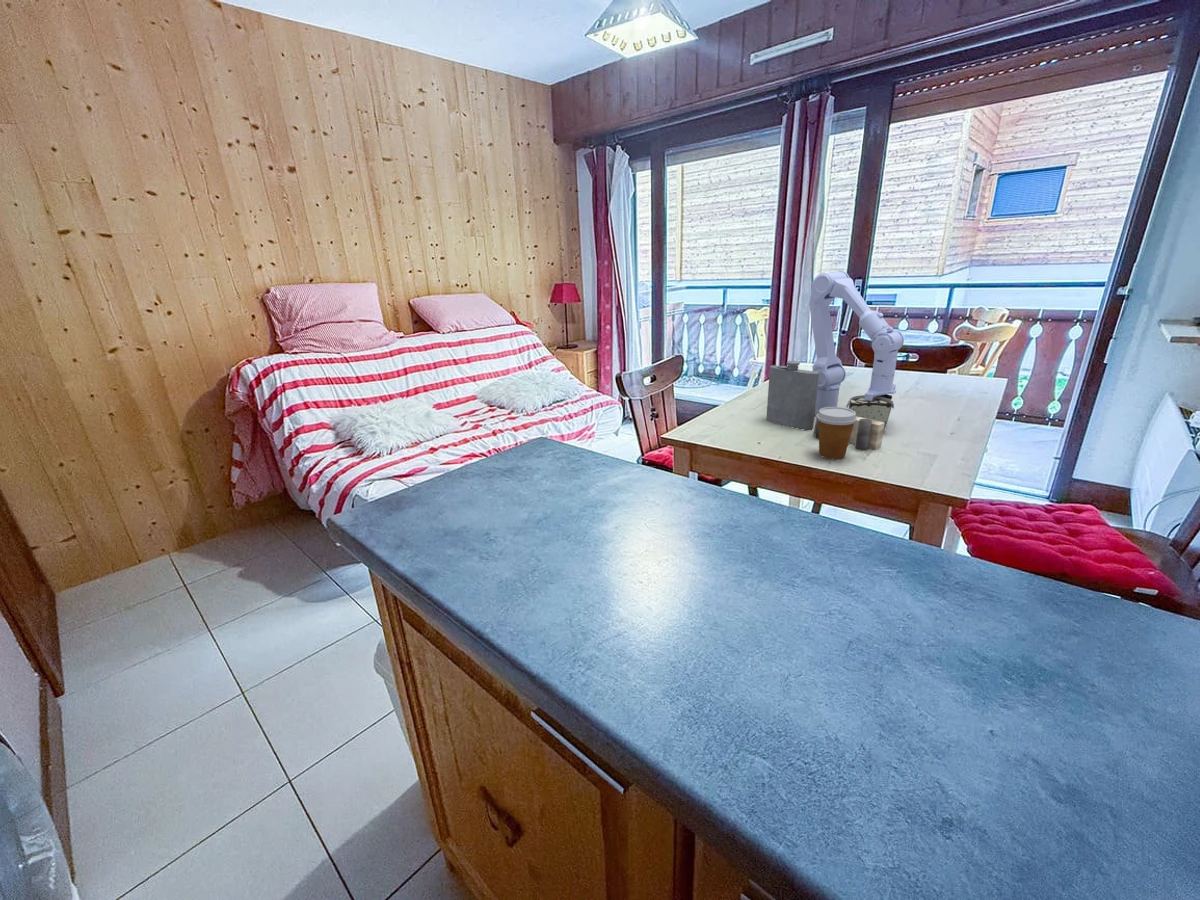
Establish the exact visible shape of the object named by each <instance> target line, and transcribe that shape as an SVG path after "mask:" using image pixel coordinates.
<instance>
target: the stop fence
mask: <svg viewBox="0 0 1200 900" xmlns="http://www.w3.org/2000/svg"><path fill="white" fill-rule="evenodd" d="M818 413H819V410H818V411H816V415H815V418H814V427H813V434H814V433H815V434H814V438H815V439H817V438H818V439H817V440H819V430H818V429H819V428H818V418H817V414H818ZM856 417H857V416H856ZM884 425H885V422H880V421H875V420H871V419H866V418H862V417H857V420H856V421H855V423H854V426H853V429H852V433H851V436H850V440H849V443H848V444H851V443H852V445H855V444H856V445H855V449H856V450H858V451H867V450H868V449H871V450H874V451H875V450H877V449H879V448H881V447H882V443H883V442H882V441H883V436H884V434H883V431H884ZM884 432H885V431H884Z"/></svg>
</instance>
